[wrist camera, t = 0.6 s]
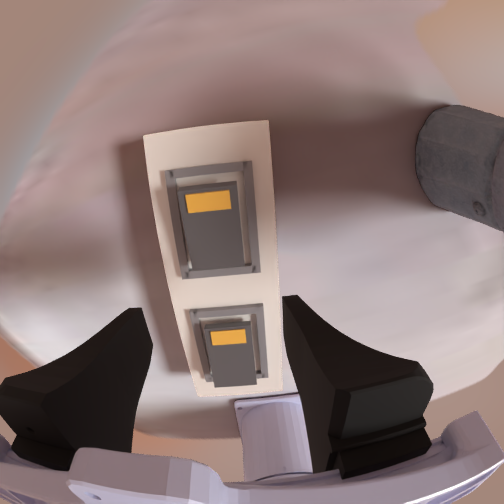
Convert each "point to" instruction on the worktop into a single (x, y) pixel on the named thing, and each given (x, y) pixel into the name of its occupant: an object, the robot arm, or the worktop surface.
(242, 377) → the rocker
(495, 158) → the moka pot
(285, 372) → the worktop surface
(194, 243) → the rocker
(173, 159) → the power strip
